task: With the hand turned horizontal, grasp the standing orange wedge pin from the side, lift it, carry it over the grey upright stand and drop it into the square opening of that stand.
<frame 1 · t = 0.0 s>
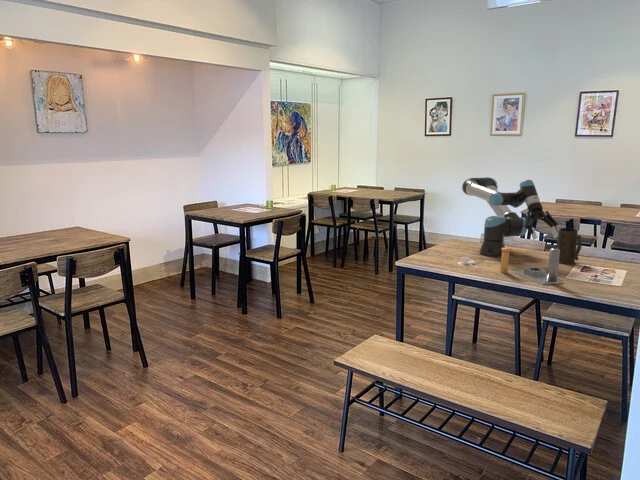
hand: (545, 238, 261), 15 cm above the table, tool tilted 35°, fingers open, 13 cm apart
beer stein: (568, 263, 268), on the table
teacup and saucer: (468, 266, 264), on the table
wedge pin: (503, 272, 249), on the table
grey upright stand: (534, 276, 242), on the table
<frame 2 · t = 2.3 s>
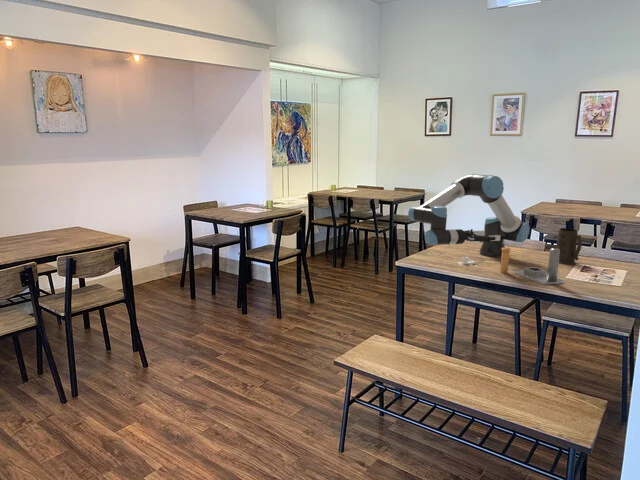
hand: (491, 235, 242), 21 cm above the table, tool horizontal, fingers open, 13 cm apart
nothing on the table moved.
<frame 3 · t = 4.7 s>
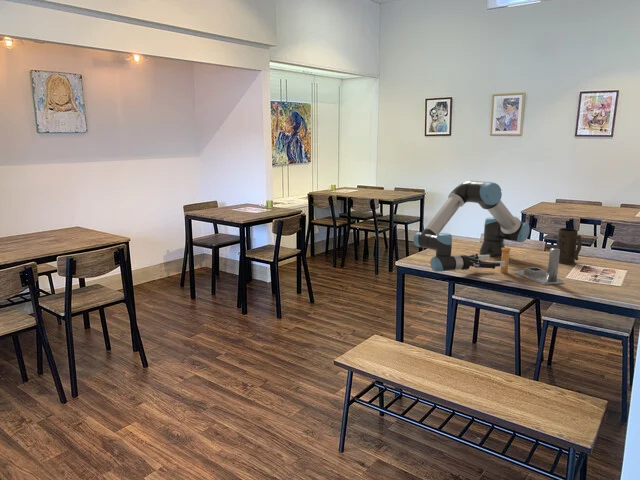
hand: (496, 260, 246), 7 cm above the table, tool horizontal, fingers open, 13 cm apart
nothing on the table moved.
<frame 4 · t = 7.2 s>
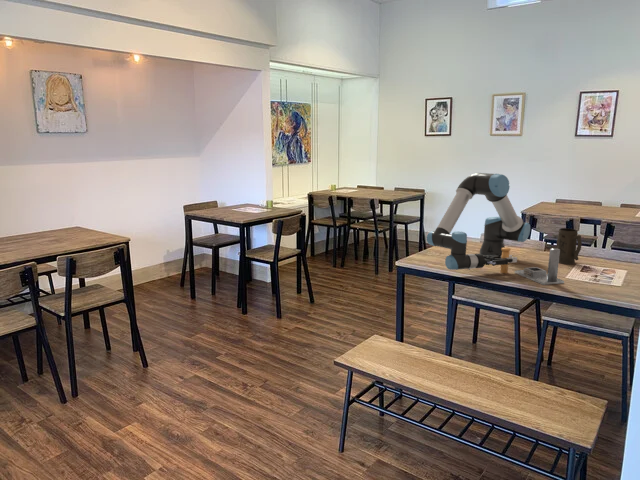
hand: (514, 258, 248), 7 cm above the table, tool horizontal, fingers closed on wedge pin, 4 cm apart
wedge pin: (503, 272, 249), on the table, touching gripper
everything else where it was.
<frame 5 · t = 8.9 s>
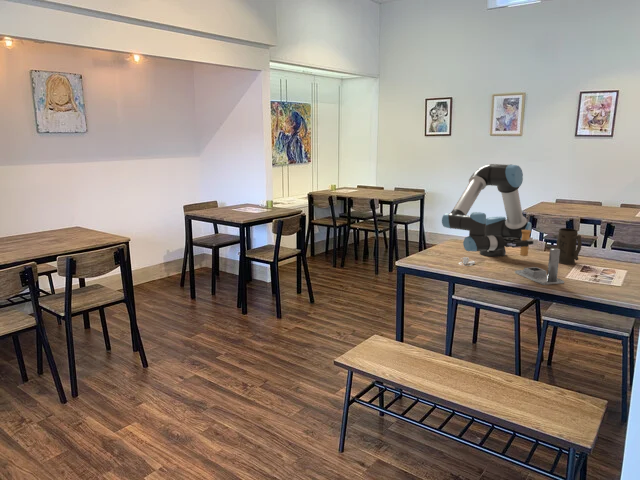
hand: (534, 241, 241), 18 cm above the table, tool horizontal, fingers closed on wedge pin, 4 cm apart
wedge pin: (523, 255, 241), point 11 cm above the table, touching gripper
everything else where it was.
when the fingers open (10 cm above the table, at t = 11.0 s): wedge pin drops 1 cm, resting on grey upright stand.
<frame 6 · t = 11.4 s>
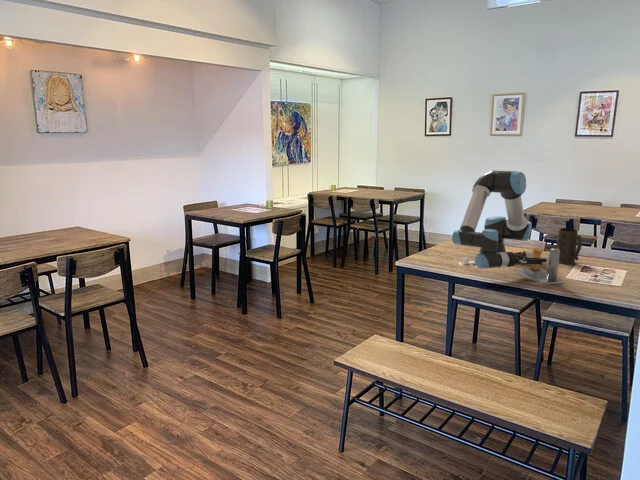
hand: (543, 257, 241), 10 cm above the table, tool horizontal, fingers open, 9 cm apart
wedge pin: (534, 273, 241), point 1 cm above the table, touching grey upright stand
everything else where it was.
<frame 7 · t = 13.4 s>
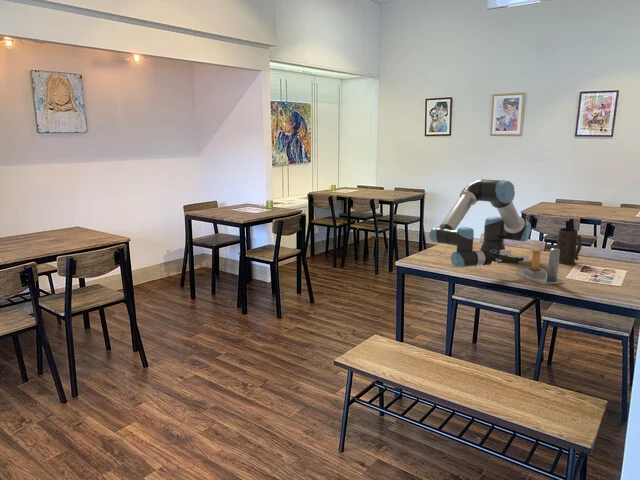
hand: (519, 255, 237), 12 cm above the table, tool horizontal, fingers open, 13 cm apart
nothing on the table moved.
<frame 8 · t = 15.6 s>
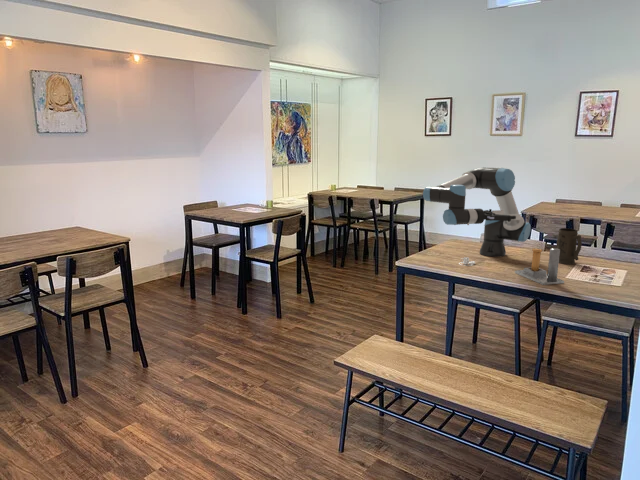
hand: (511, 214, 236), 32 cm above the table, tool horizontal, fingers open, 13 cm apart
nothing on the table moved.
at the end: wedge pin 0.1 cm off-centre on the grey upright stand, point 1.3 cm above the grey upright stand's base; wedge pin tilted 2°; the gripper is holding nothing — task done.
